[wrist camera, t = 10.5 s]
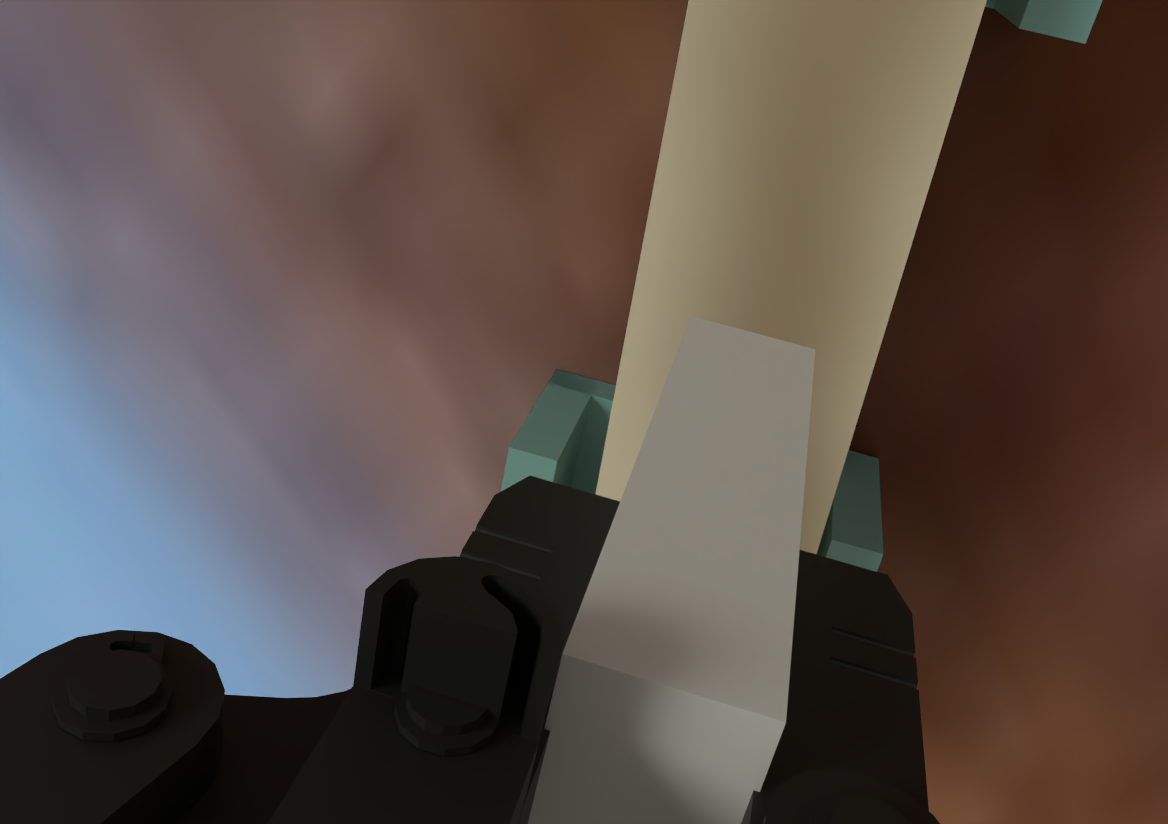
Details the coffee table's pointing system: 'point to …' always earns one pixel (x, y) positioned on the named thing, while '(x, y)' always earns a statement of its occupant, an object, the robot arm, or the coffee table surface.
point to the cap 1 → (576, 443)
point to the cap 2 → (1051, 16)
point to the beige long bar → (790, 200)
